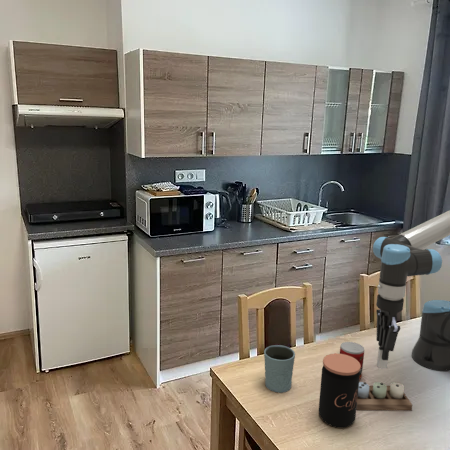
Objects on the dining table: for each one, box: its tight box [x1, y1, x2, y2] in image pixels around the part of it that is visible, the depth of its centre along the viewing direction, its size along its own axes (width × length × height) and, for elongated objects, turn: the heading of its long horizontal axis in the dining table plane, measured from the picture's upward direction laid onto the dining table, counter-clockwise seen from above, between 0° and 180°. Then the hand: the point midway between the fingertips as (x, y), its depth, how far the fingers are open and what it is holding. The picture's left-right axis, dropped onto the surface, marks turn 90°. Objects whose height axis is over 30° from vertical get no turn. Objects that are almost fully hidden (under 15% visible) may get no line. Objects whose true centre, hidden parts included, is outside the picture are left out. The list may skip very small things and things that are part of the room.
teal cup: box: [263, 344, 296, 393], centre depth 145 cm, size 10×10×12 cm
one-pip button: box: [389, 381, 405, 399], centre depth 139 cm, size 4×4×3 cm
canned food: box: [339, 341, 365, 381], centre depth 152 cm, size 8×8×11 cm
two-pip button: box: [372, 381, 388, 399], centre depth 139 cm, size 4×4×3 cm
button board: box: [356, 385, 413, 412], centre depth 139 cm, size 17×10×2 cm, turn 91°
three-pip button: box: [358, 381, 370, 398], centre depth 139 cm, size 4×4×3 cm
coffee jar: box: [318, 353, 361, 429], centre depth 129 cm, size 11×11×18 cm
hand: (381, 367), depth 137 cm, fingers closed
